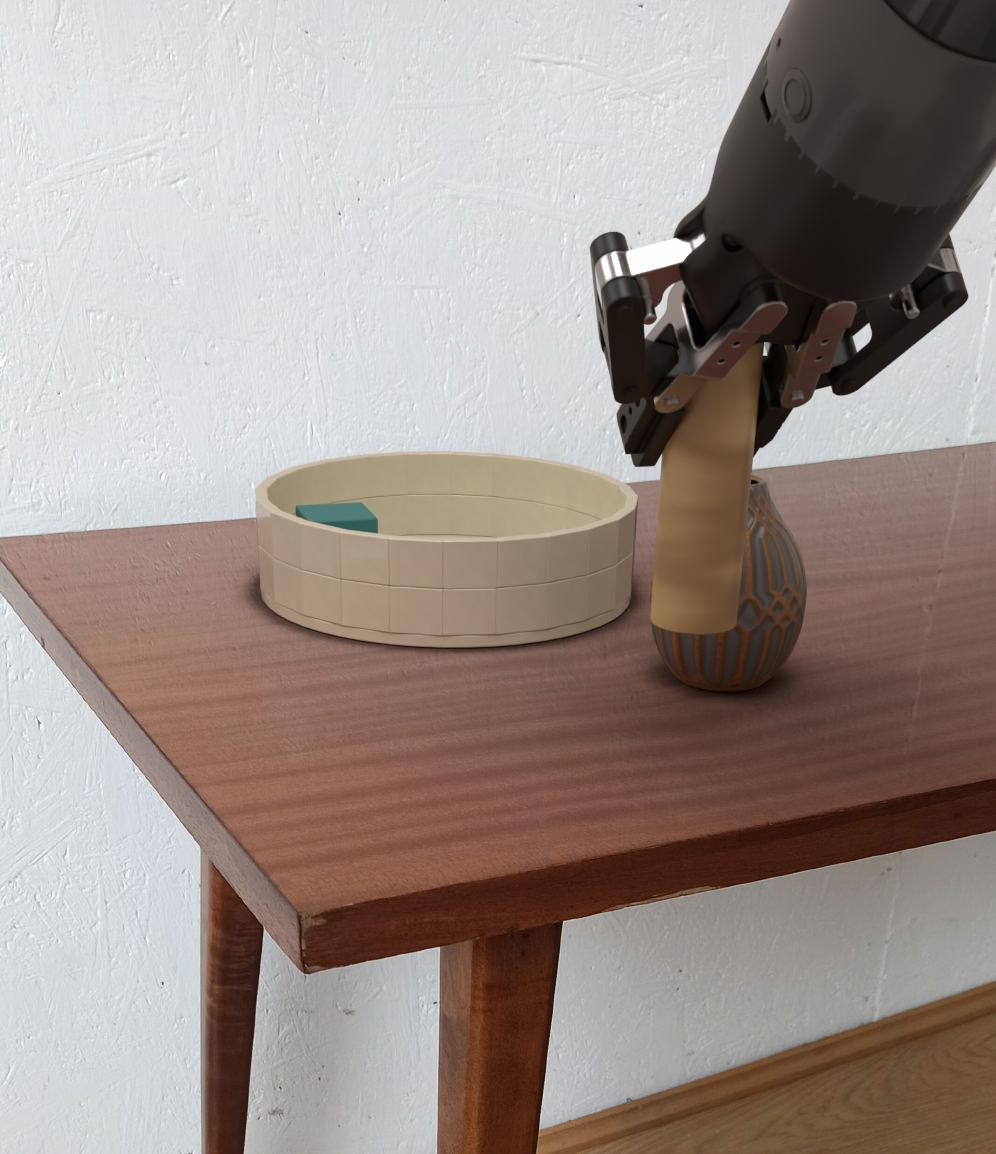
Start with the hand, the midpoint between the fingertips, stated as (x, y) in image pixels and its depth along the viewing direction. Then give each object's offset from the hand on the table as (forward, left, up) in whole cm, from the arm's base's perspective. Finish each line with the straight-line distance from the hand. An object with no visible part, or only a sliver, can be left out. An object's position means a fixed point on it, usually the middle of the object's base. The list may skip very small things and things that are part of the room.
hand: (685, 442), depth 66 cm
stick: (-1, +2, -6) cm, 7 cm away
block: (+18, -18, -11) cm, 27 cm away
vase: (-2, -8, -12) cm, 14 cm away
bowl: (+12, -19, -12) cm, 26 cm away
